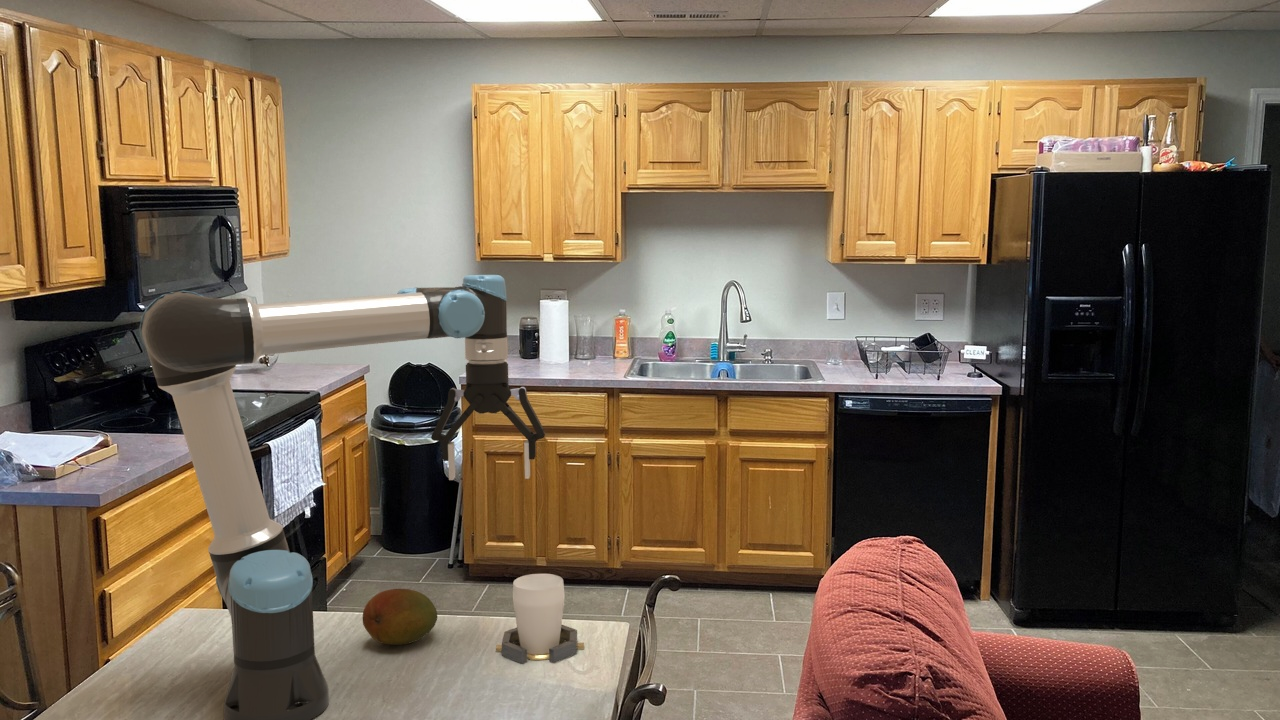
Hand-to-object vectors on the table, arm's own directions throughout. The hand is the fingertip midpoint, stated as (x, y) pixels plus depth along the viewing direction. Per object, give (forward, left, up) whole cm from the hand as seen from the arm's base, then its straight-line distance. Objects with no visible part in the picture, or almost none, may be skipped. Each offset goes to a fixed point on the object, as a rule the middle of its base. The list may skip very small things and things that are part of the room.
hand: (490, 477), depth 183 cm
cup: (+9, -9, -29) cm, 31 cm away
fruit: (-16, -4, -29) cm, 33 cm away
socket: (+9, -9, -29) cm, 31 cm away
